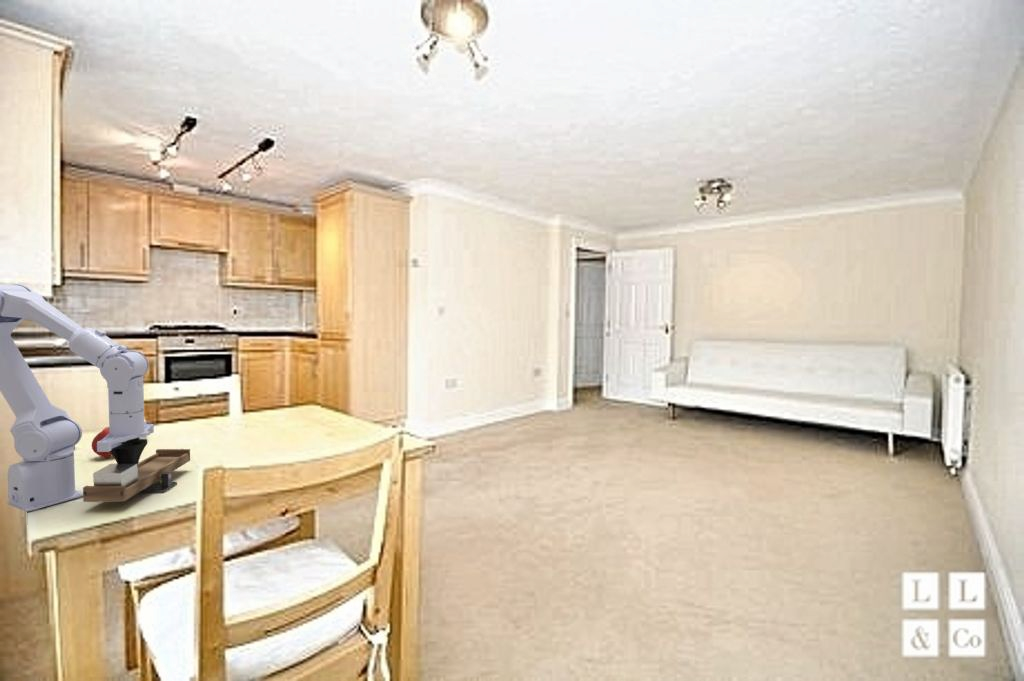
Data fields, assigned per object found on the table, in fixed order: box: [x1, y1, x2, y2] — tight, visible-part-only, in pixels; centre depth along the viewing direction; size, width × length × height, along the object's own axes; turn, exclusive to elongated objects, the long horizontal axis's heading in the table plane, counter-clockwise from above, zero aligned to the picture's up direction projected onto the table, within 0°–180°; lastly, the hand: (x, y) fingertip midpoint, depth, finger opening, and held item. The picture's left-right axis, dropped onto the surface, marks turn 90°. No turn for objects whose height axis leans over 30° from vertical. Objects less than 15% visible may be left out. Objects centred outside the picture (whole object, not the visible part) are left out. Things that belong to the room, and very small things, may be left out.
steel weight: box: [92, 463, 138, 488], centre depth 100 cm, size 5×5×4 cm
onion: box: [91, 426, 113, 459], centre depth 128 cm, size 6×6×8 cm
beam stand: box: [137, 472, 178, 494], centre depth 109 cm, size 5×11×4 cm, turn 96°
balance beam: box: [82, 448, 191, 503], centre depth 109 cm, size 24×8×3 cm, turn 6°
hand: (128, 476), depth 104 cm, fingers closed
